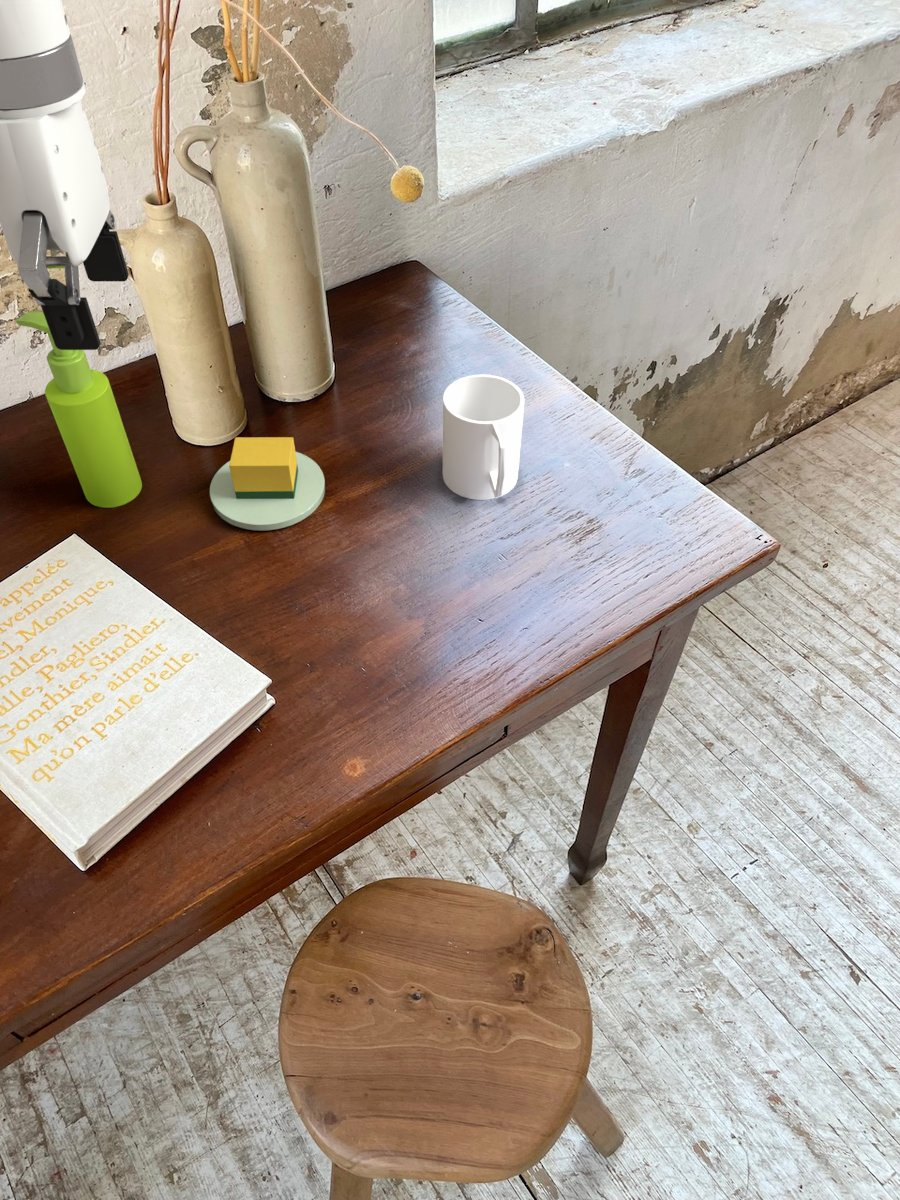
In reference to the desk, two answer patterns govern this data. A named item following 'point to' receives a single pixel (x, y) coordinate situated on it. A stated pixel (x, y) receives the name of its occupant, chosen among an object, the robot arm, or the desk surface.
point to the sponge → (264, 467)
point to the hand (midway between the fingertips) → (95, 312)
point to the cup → (482, 436)
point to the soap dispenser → (89, 424)
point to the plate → (269, 510)
